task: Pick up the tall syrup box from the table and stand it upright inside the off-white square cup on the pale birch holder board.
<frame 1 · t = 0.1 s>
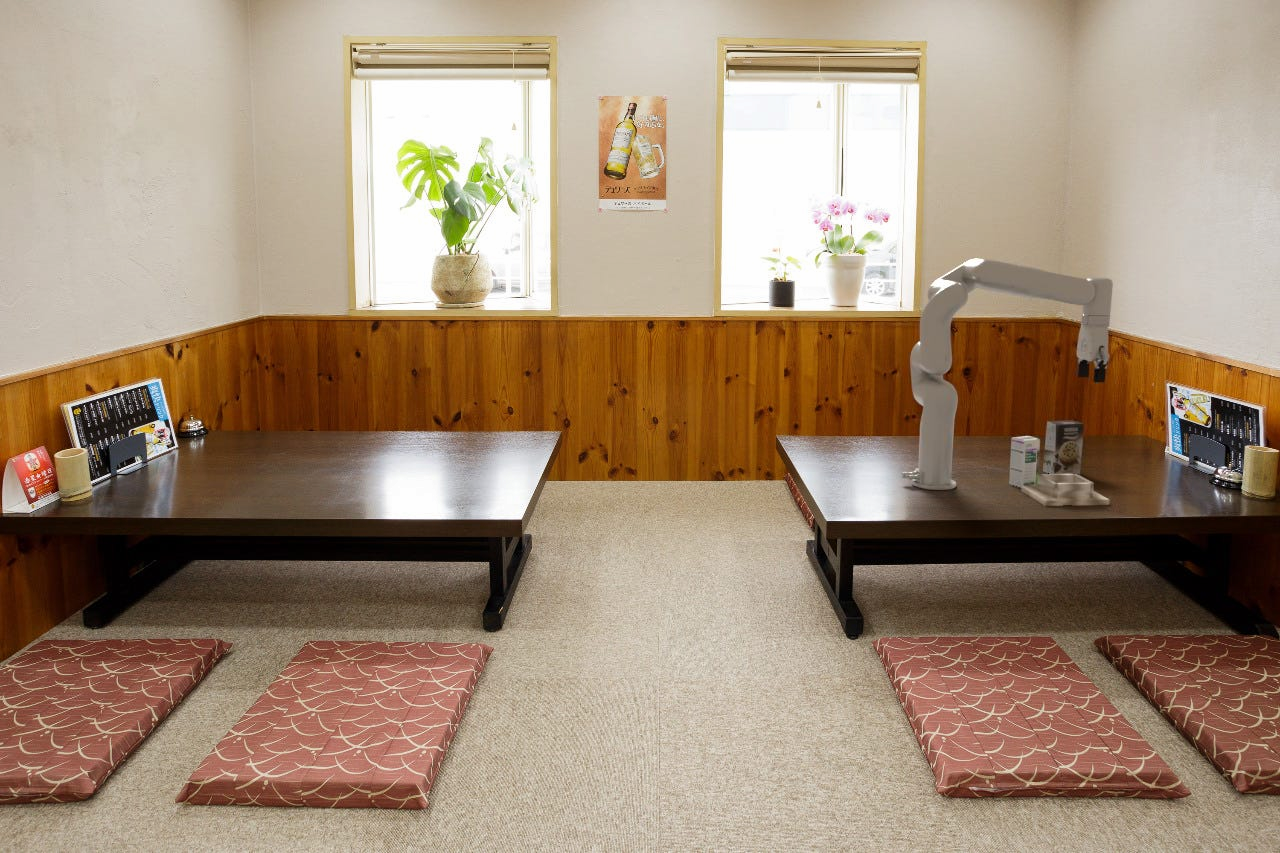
hand: (1090, 379, 301), 31 cm above the table, tool pointing down, fingers open, 9 cm apart
holder: (1063, 497, 291), on the table
coffee box: (1061, 473, 319), on the table
syrup box: (1022, 486, 305), on the table
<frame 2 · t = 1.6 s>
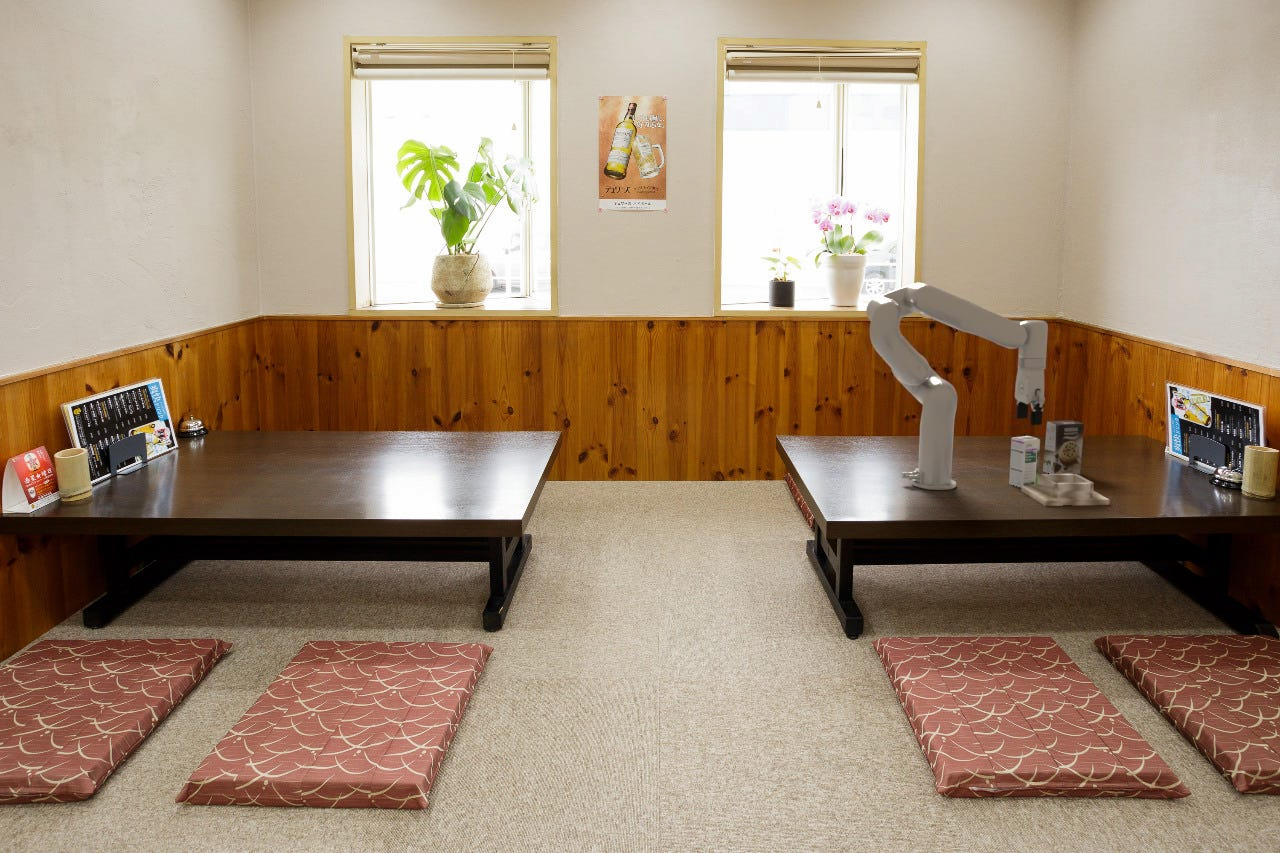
hand: (1028, 421, 301), 19 cm above the table, tool pointing down, fingers open, 9 cm apart
nothing on the table moved.
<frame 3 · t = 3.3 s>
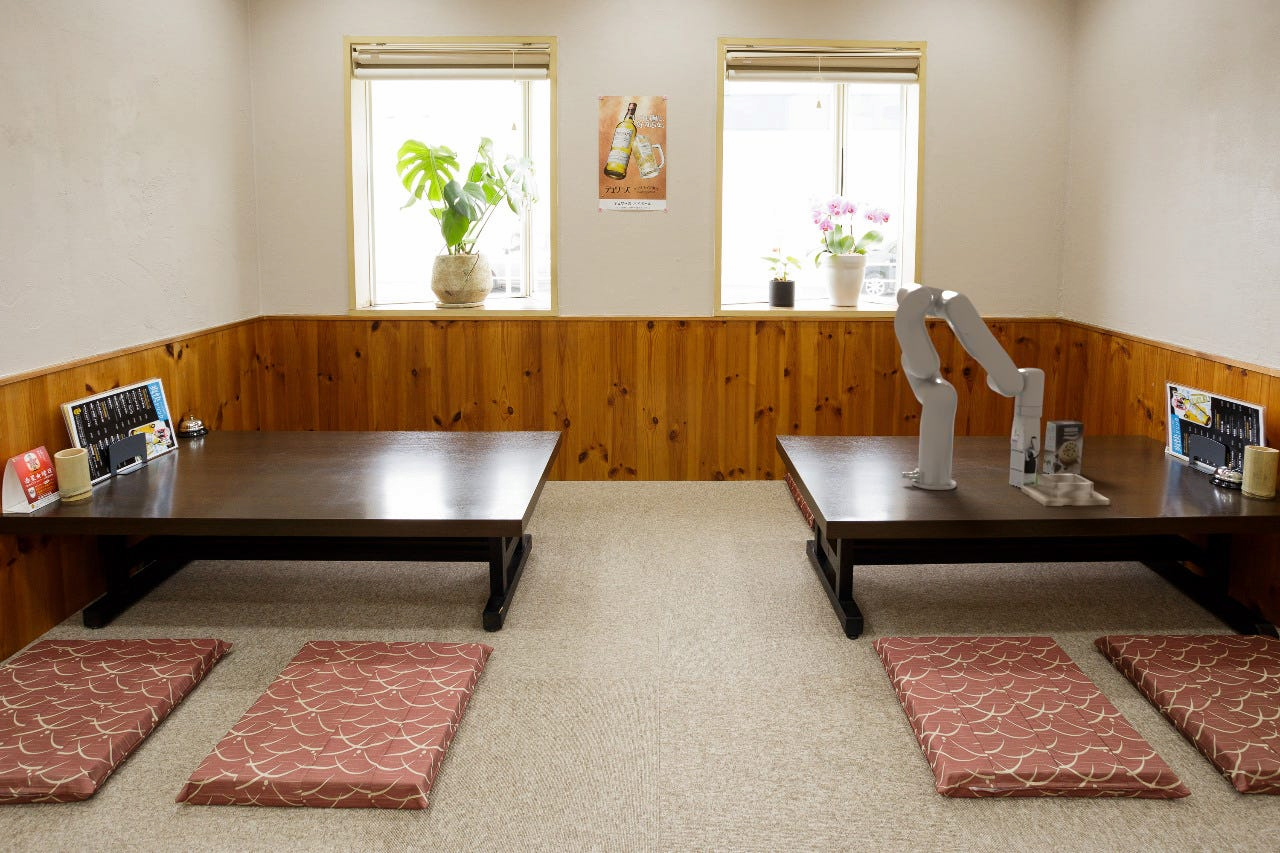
hand: (1024, 469, 304), 5 cm above the table, tool pointing down, fingers closed on syrup box, 7 cm apart
syrup box: (1022, 486, 305), on the table, touching gripper
everything else where it was.
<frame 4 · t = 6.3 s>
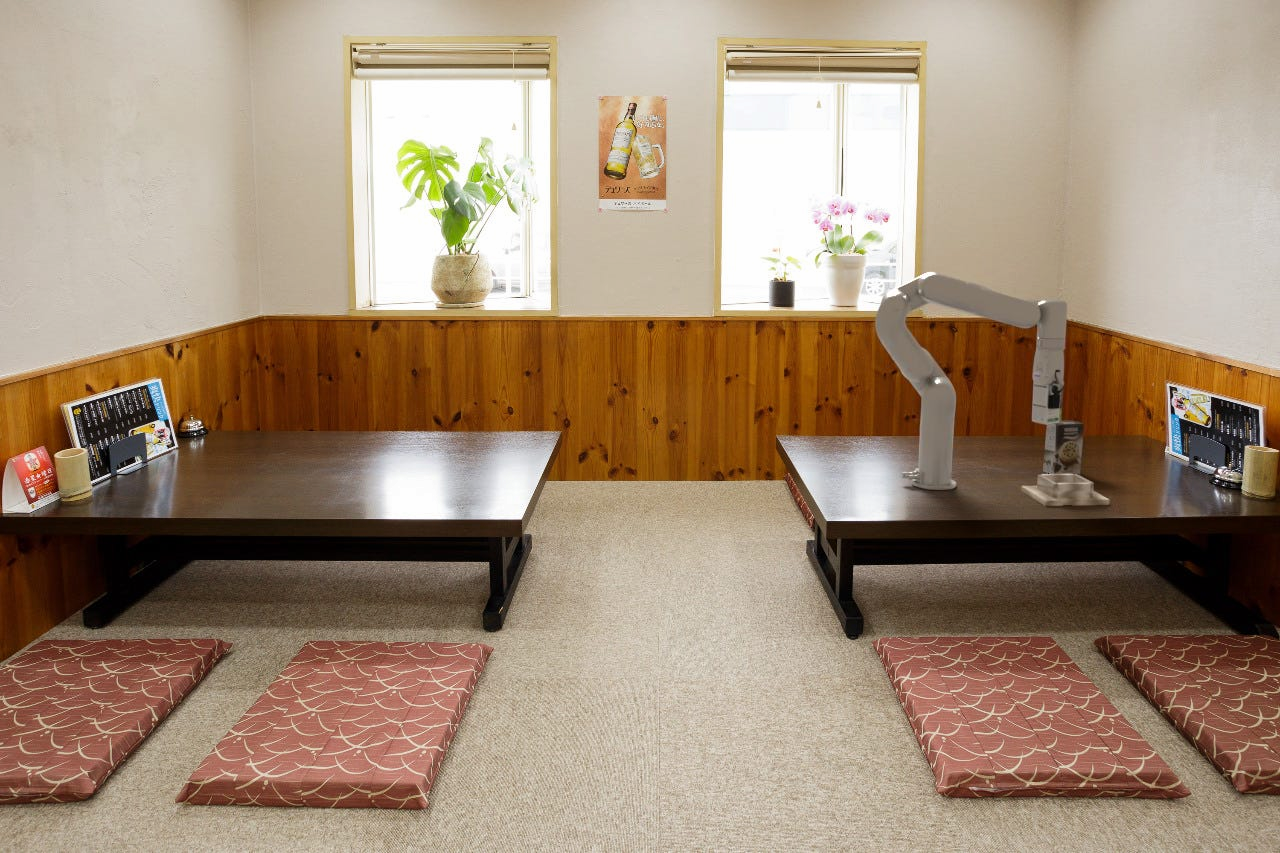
hand: (1047, 405, 294), 25 cm above the table, tool pointing down, fingers closed on syrup box, 7 cm apart
syrup box: (1045, 422, 295), point 20 cm above the table, touching gripper
everything else where it was.
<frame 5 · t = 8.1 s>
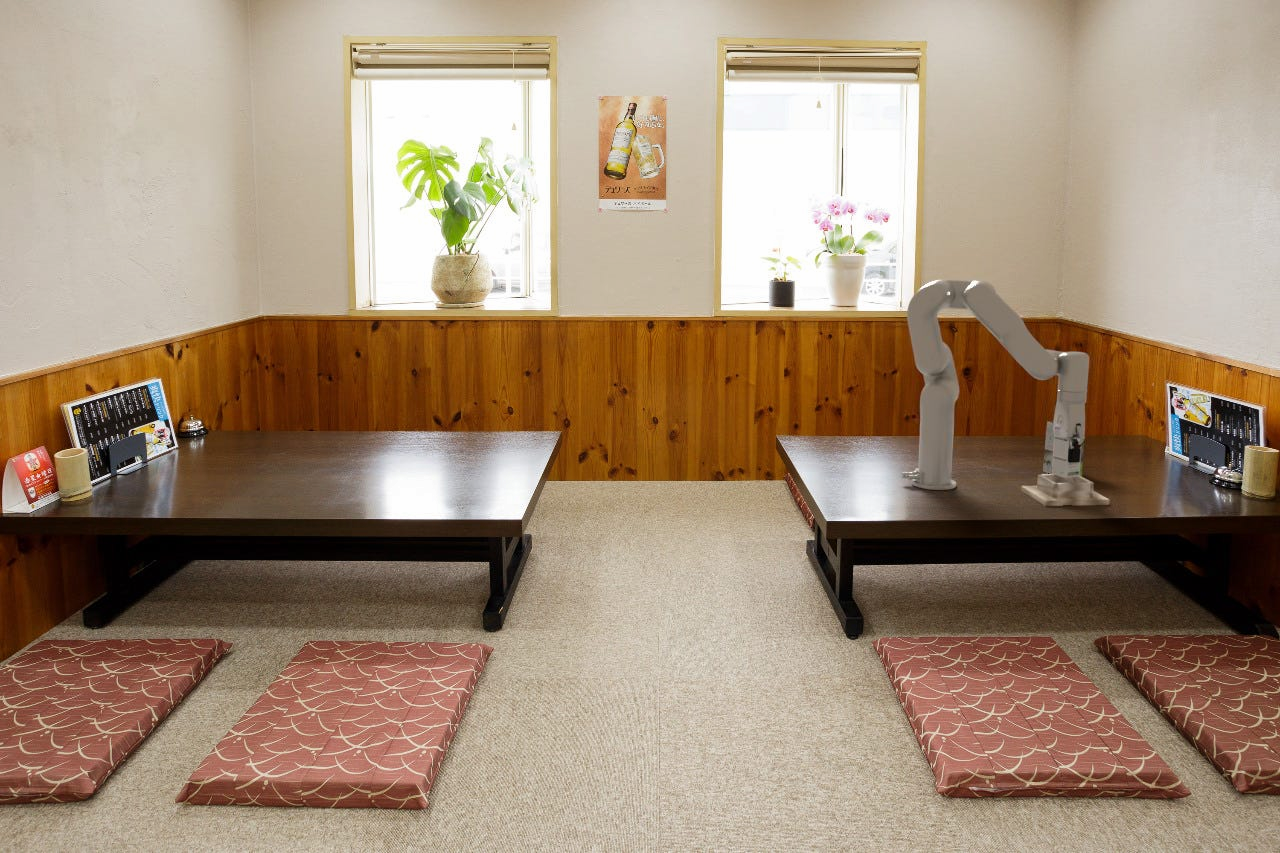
hand: (1067, 458, 289), 11 cm above the table, tool pointing down, fingers closed on syrup box, 7 cm apart
syrup box: (1066, 476, 290), point 6 cm above the table, touching gripper
everything else where it was.
when the fingers open (8 cm above the table, at t = 9.4 s): syrup box drops 1 cm, resting on holder.
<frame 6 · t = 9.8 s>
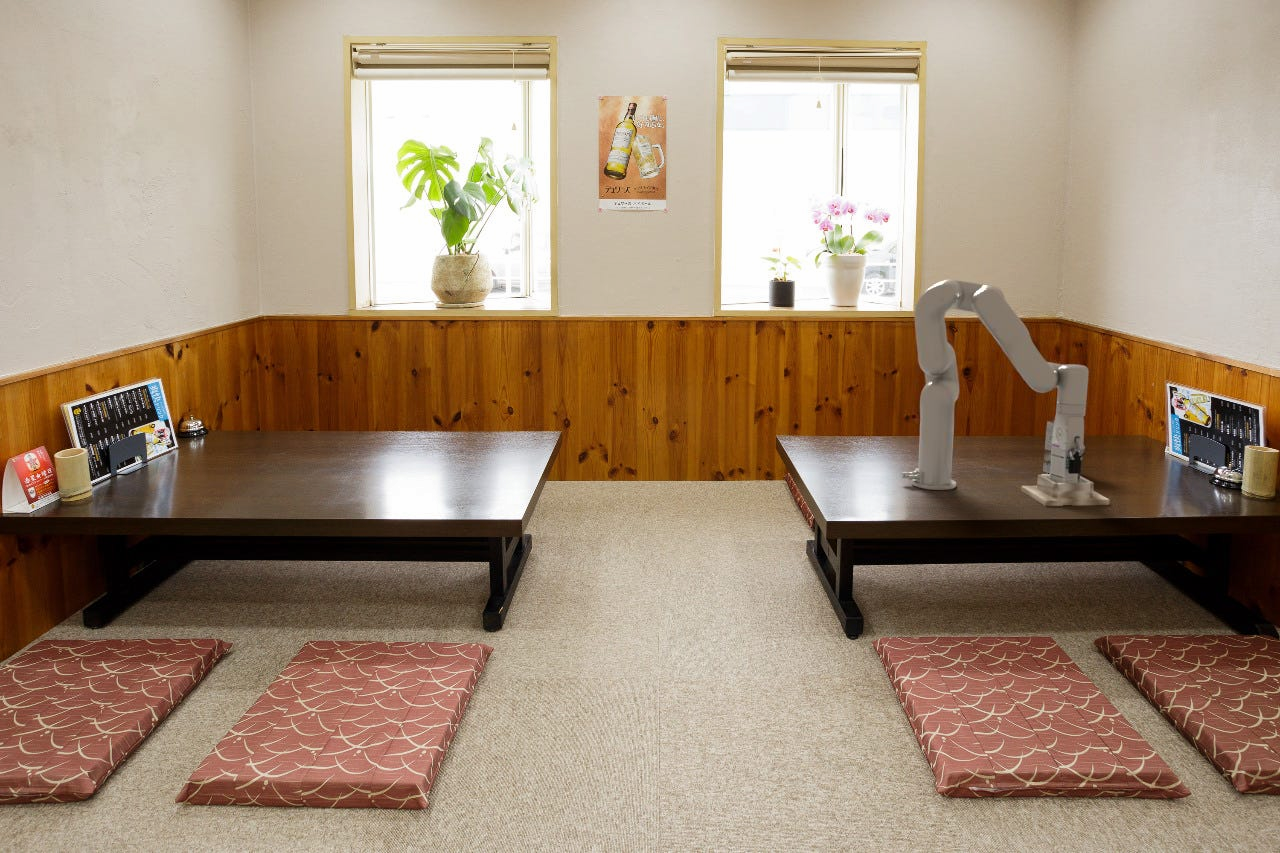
hand: (1066, 469, 290), 8 cm above the table, tool pointing down, fingers open, 9 cm apart
syrup box: (1063, 492, 291), point 1 cm above the table, touching holder
everything else where it was.
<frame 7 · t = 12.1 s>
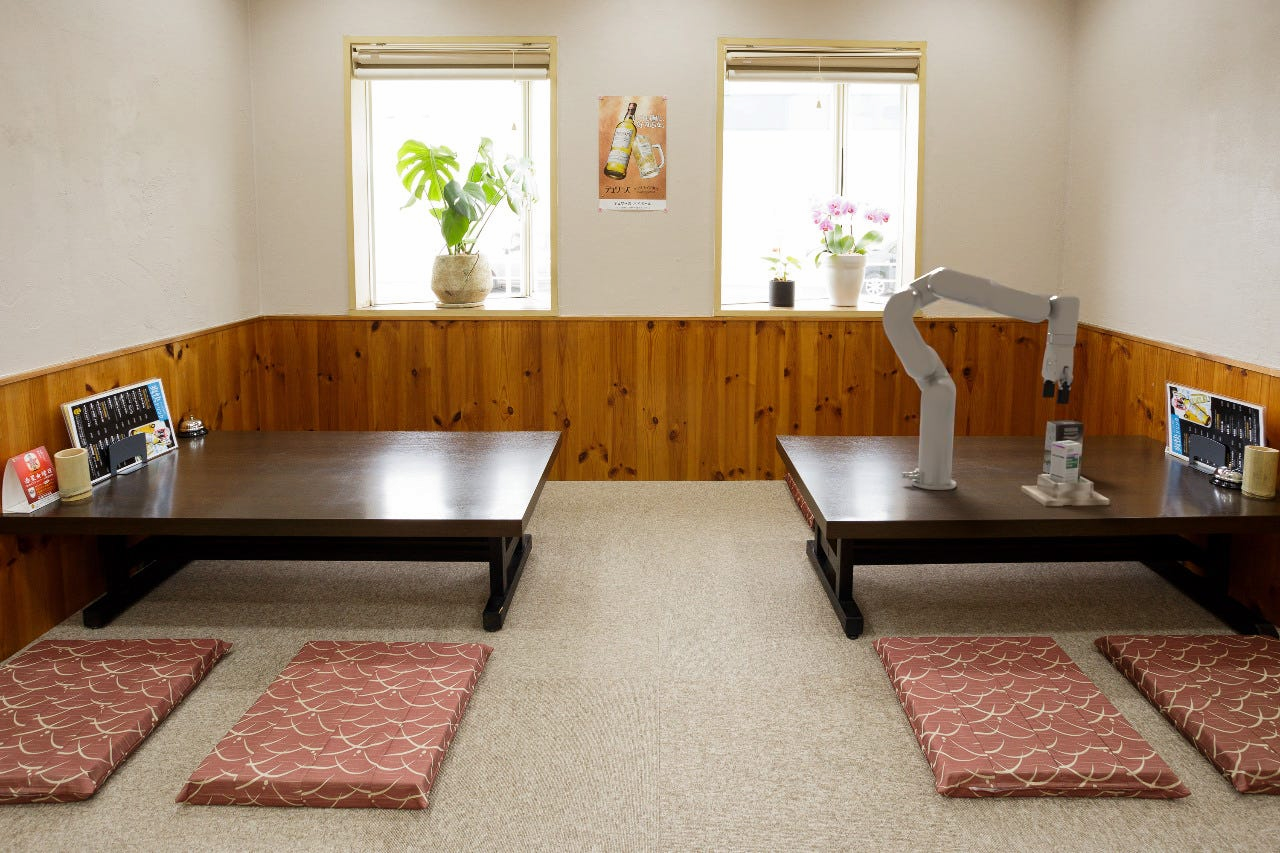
hand: (1055, 400, 291), 27 cm above the table, tool pointing down, fingers open, 9 cm apart
nothing on the table moved.
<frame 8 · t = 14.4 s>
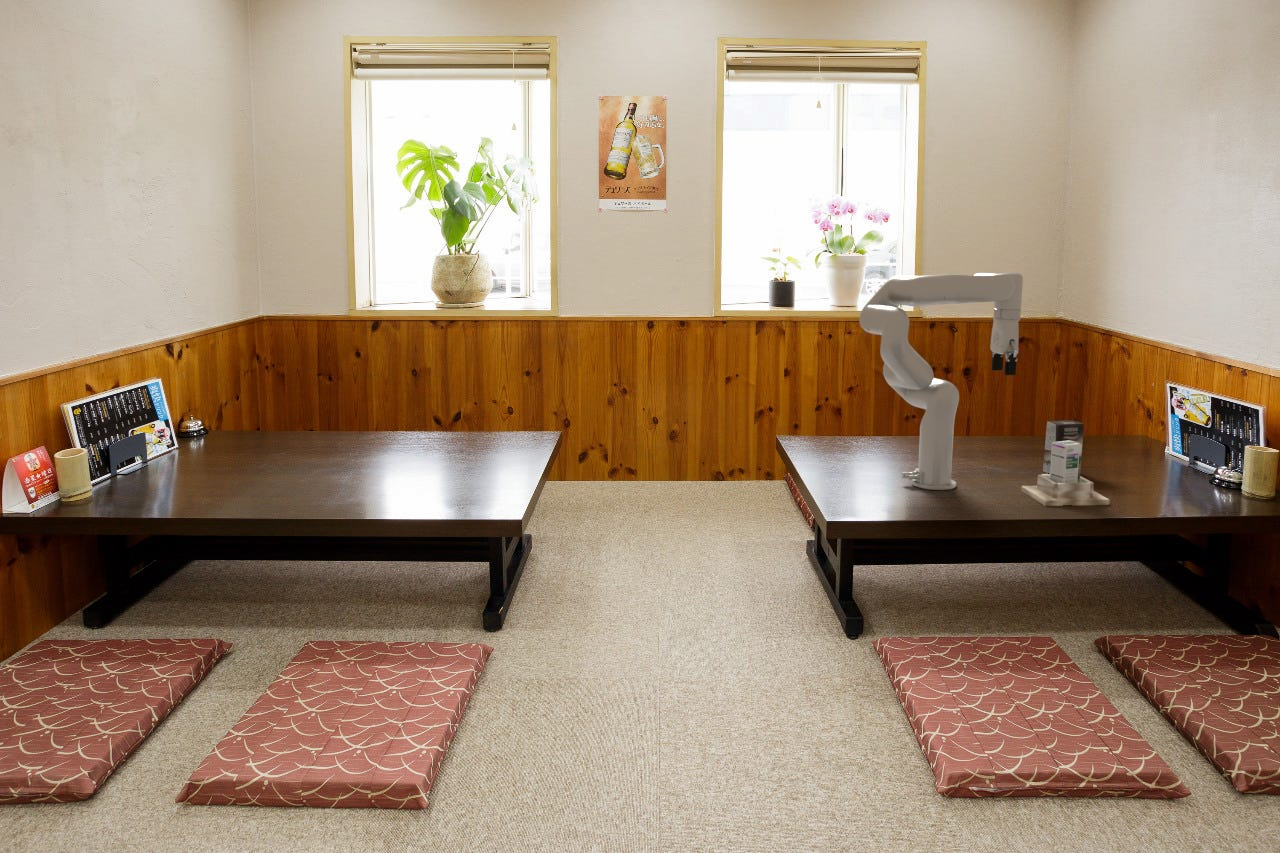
hand: (1003, 372, 308), 32 cm above the table, tool pointing down, fingers open, 9 cm apart
nothing on the table moved.
at the end: syrup box 0.3 cm off-centre on the holder, point 1.3 cm above the holder's base; syrup box tilted 0°; the gripper is holding nothing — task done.
